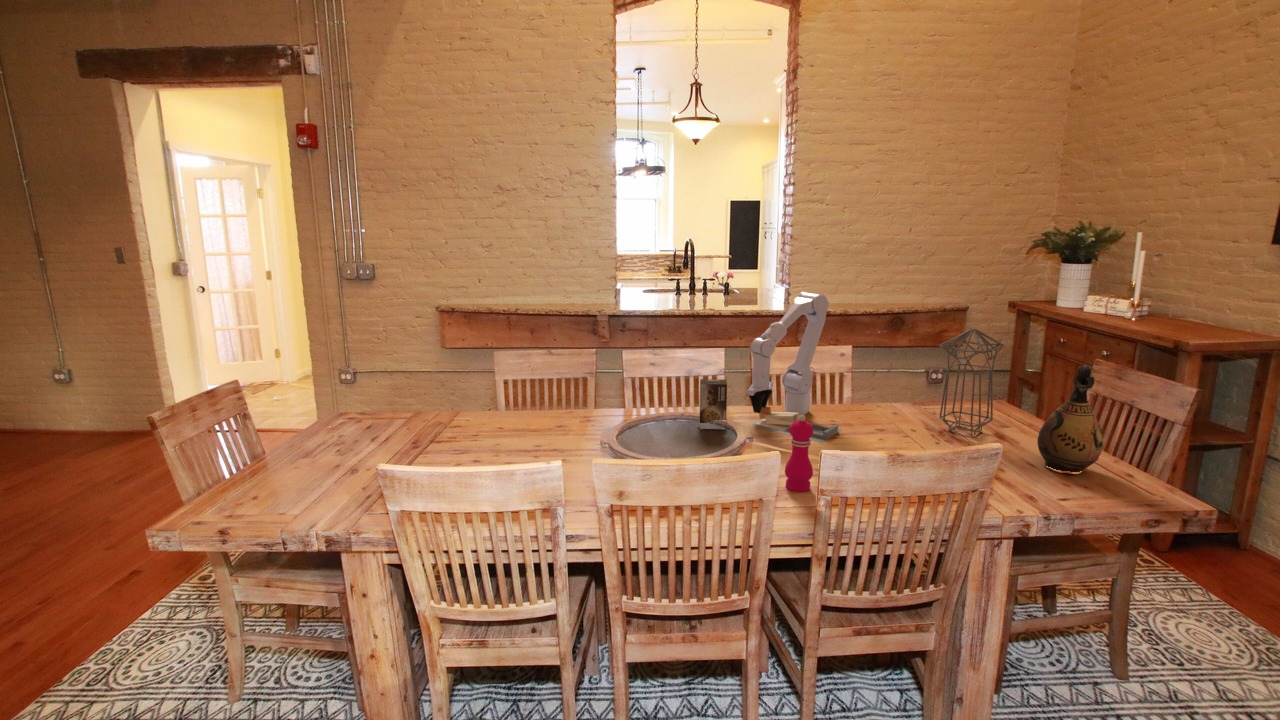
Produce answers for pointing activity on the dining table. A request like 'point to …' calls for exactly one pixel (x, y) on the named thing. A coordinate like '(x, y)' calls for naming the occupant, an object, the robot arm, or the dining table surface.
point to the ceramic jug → (1072, 430)
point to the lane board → (819, 434)
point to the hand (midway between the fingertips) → (759, 411)
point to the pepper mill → (799, 456)
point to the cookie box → (713, 400)
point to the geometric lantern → (961, 337)
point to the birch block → (778, 416)
